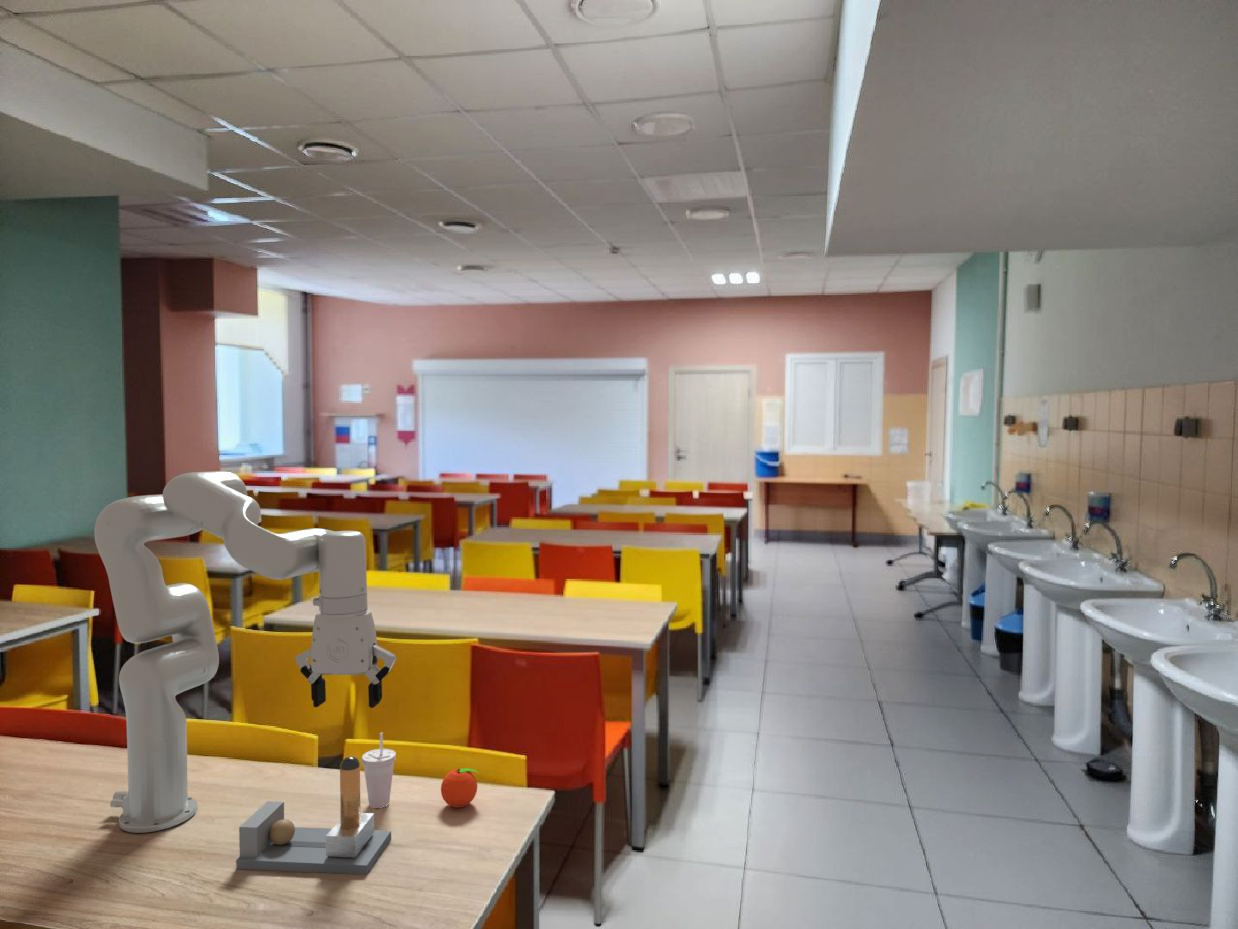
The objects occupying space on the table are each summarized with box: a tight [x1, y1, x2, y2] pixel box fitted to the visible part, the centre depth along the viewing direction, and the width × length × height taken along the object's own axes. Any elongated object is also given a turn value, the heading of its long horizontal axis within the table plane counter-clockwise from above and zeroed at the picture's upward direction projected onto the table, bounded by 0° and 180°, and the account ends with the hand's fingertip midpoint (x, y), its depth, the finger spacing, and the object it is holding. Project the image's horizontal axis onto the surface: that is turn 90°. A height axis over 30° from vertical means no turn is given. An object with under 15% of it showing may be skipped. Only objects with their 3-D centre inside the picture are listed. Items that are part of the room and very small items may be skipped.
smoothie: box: [360, 732, 397, 809], centre depth 150 cm, size 6×6×14 cm
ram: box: [326, 756, 375, 857], centre depth 131 cm, size 5×8×15 cm, turn 176°
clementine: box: [440, 767, 483, 808], centre depth 150 cm, size 8×7×7 cm
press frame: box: [235, 800, 392, 875], centre depth 132 cm, size 22×11×6 cm, turn 86°
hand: (347, 704), depth 131 cm, fingers open, 9 cm apart
